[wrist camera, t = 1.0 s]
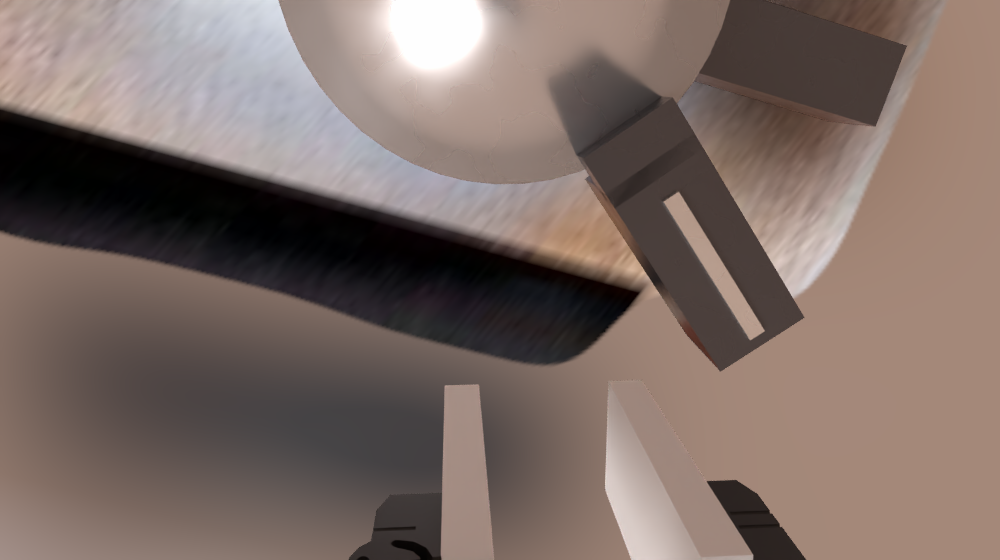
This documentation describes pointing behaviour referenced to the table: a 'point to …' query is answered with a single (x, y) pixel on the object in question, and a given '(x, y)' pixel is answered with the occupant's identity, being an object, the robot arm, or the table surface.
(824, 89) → the pot
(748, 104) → the table surface
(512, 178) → the lid
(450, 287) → the table surface
